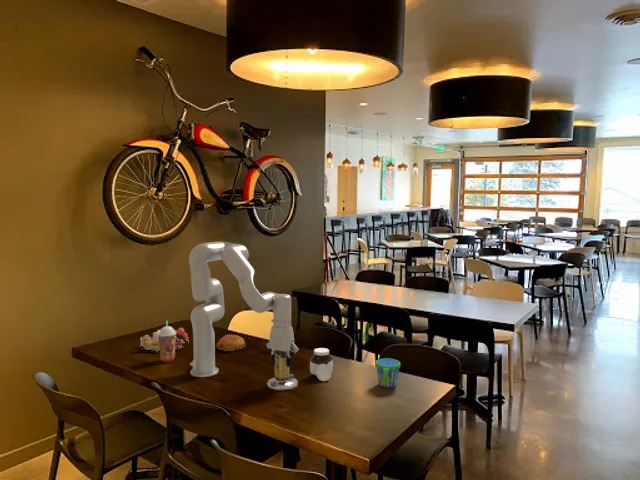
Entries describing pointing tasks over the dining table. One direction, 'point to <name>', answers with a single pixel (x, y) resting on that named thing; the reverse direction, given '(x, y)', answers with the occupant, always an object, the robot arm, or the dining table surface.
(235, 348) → the bread bun
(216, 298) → the robot arm
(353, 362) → the dining table surface
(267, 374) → the dining table surface
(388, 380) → the snack cup
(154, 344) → the candy landscape model
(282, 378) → the sauce bottle
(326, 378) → the spread jar
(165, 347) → the smoothie
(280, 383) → the base
